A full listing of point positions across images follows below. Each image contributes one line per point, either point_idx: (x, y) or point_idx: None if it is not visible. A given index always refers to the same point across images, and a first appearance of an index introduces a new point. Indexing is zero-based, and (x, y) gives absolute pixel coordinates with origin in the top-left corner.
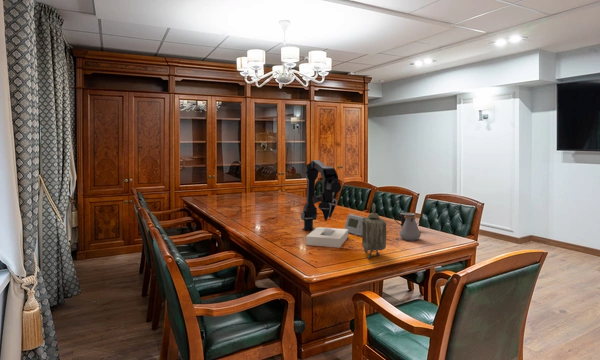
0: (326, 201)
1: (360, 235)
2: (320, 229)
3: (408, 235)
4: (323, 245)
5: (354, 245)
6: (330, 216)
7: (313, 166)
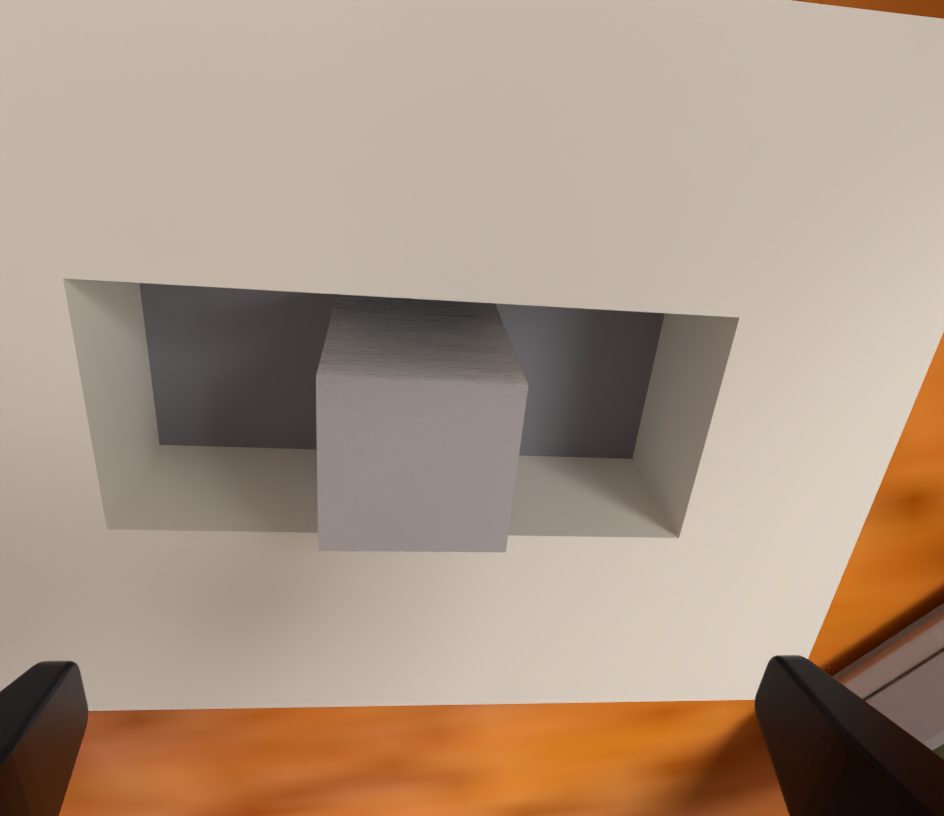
0: None
1: None
2: (744, 182)
3: None
4: None
5: (250, 727)
6: (773, 745)
7: None
